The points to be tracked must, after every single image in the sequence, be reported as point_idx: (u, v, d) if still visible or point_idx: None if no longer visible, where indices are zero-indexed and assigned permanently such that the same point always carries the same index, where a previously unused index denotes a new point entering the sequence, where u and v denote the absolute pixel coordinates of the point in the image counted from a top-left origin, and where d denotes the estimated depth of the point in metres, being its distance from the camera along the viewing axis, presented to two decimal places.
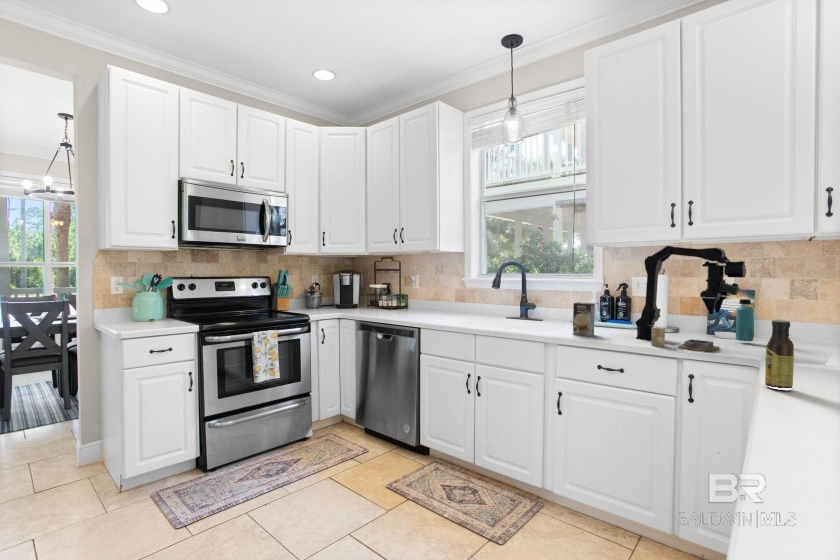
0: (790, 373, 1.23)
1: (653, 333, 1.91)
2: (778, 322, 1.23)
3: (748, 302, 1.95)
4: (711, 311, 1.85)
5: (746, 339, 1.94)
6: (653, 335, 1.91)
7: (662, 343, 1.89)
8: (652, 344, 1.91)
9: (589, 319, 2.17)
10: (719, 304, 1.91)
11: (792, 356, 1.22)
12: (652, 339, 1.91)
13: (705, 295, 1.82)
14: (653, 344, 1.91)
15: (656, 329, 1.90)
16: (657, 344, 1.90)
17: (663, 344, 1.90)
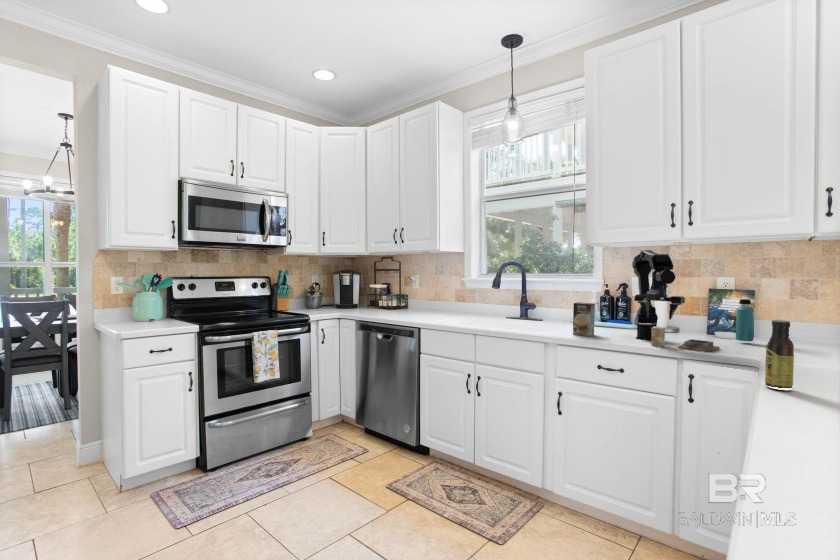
0: (790, 373, 1.23)
1: (653, 333, 1.91)
2: (778, 322, 1.23)
3: (748, 302, 1.95)
4: None
5: (746, 339, 1.94)
6: (653, 335, 1.91)
7: (662, 343, 1.89)
8: (652, 344, 1.91)
9: (589, 319, 2.17)
10: None
11: (792, 356, 1.22)
12: (652, 339, 1.91)
13: None
14: (653, 344, 1.91)
15: (656, 329, 1.90)
16: (657, 344, 1.90)
17: (663, 344, 1.90)
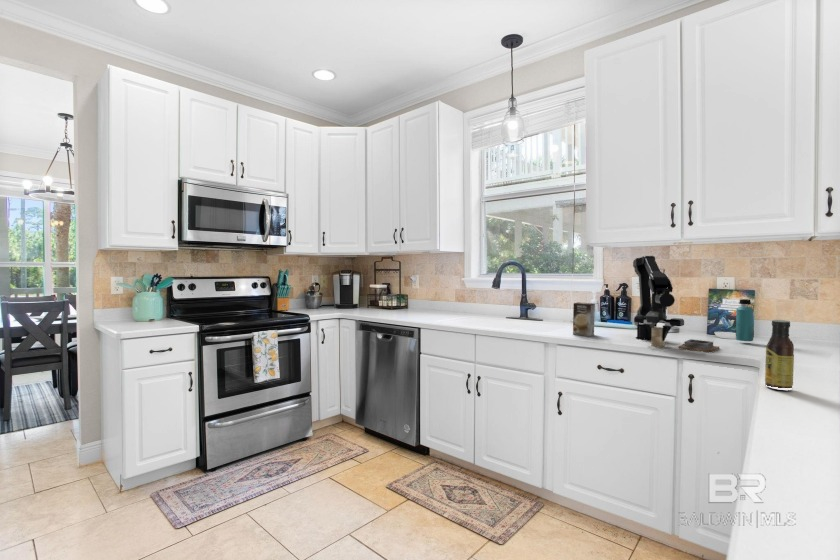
0: (790, 373, 1.23)
1: (653, 333, 1.91)
2: (778, 322, 1.23)
3: (748, 302, 1.95)
4: None
5: (746, 339, 1.94)
6: (653, 335, 1.91)
7: (662, 343, 1.89)
8: (652, 344, 1.91)
9: (589, 319, 2.17)
10: None
11: (792, 356, 1.22)
12: (652, 339, 1.91)
13: None
14: (653, 344, 1.91)
15: (656, 329, 1.90)
16: (657, 344, 1.90)
17: (663, 344, 1.90)
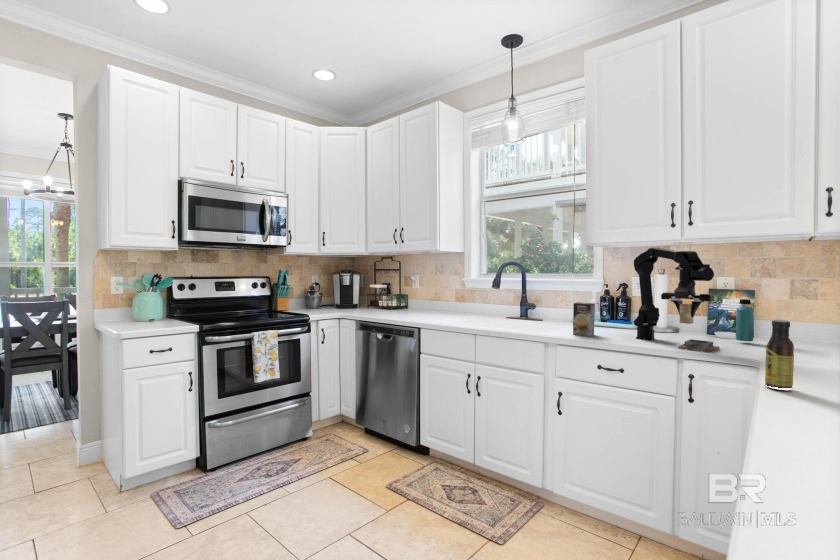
0: (790, 373, 1.23)
1: (681, 310, 1.86)
2: (778, 322, 1.23)
3: (748, 302, 1.95)
4: None
5: (746, 339, 1.94)
6: (681, 312, 1.86)
7: (691, 320, 1.84)
8: (680, 321, 1.86)
9: (589, 319, 2.17)
10: None
11: (792, 356, 1.22)
12: (680, 316, 1.86)
13: None
14: (681, 321, 1.86)
15: (684, 305, 1.85)
16: (686, 321, 1.84)
17: (692, 321, 1.85)
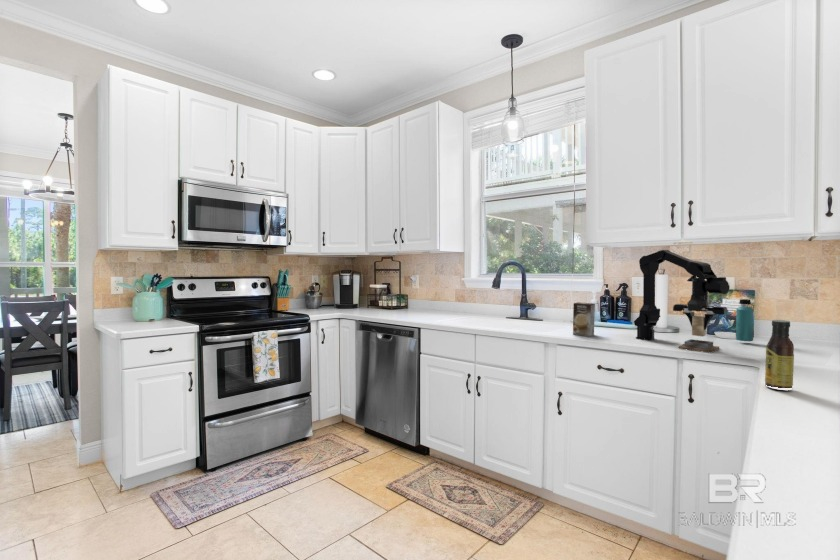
0: (790, 373, 1.23)
1: (694, 322, 1.84)
2: (778, 322, 1.23)
3: (748, 302, 1.95)
4: None
5: (746, 339, 1.94)
6: (694, 324, 1.84)
7: (703, 332, 1.83)
8: (693, 333, 1.85)
9: (589, 319, 2.17)
10: None
11: (792, 356, 1.22)
12: (692, 328, 1.85)
13: None
14: (694, 333, 1.84)
15: (697, 318, 1.83)
16: (699, 334, 1.83)
17: (704, 333, 1.84)
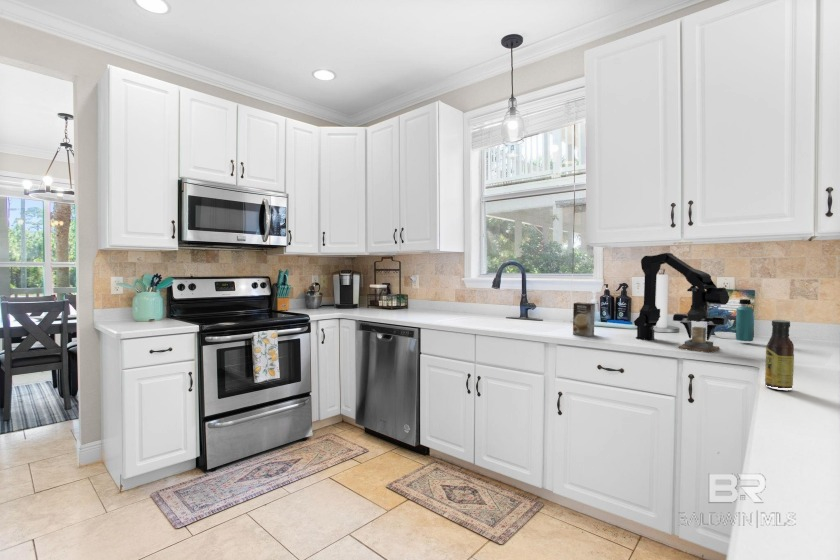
0: (790, 373, 1.23)
1: (694, 333, 1.84)
2: (778, 322, 1.23)
3: (748, 302, 1.95)
4: None
5: (746, 339, 1.94)
6: (694, 335, 1.84)
7: None
8: None
9: (589, 319, 2.17)
10: None
11: (792, 356, 1.22)
12: (692, 339, 1.85)
13: None
14: None
15: (697, 329, 1.83)
16: None
17: None
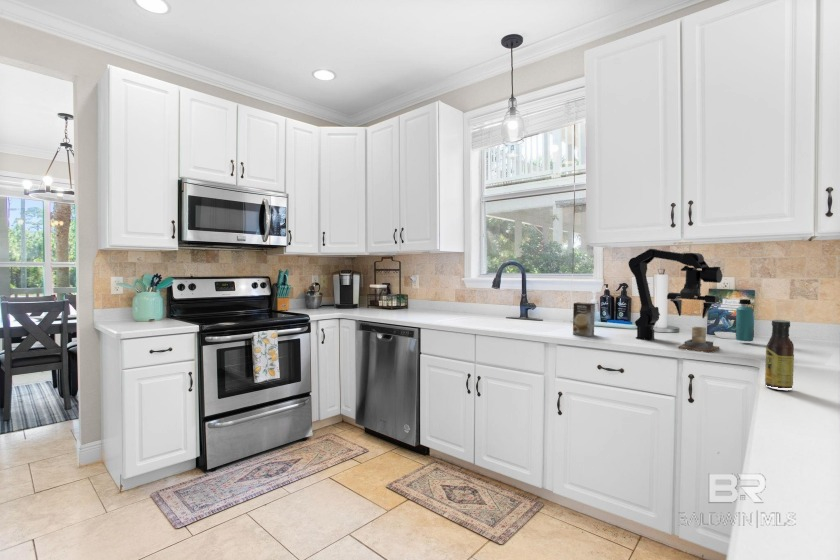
0: (790, 373, 1.23)
1: (694, 333, 1.84)
2: (778, 322, 1.23)
3: (748, 302, 1.95)
4: None
5: (746, 339, 1.94)
6: (694, 335, 1.84)
7: None
8: None
9: (589, 319, 2.17)
10: None
11: (792, 356, 1.22)
12: (692, 339, 1.85)
13: None
14: None
15: (697, 329, 1.83)
16: None
17: None
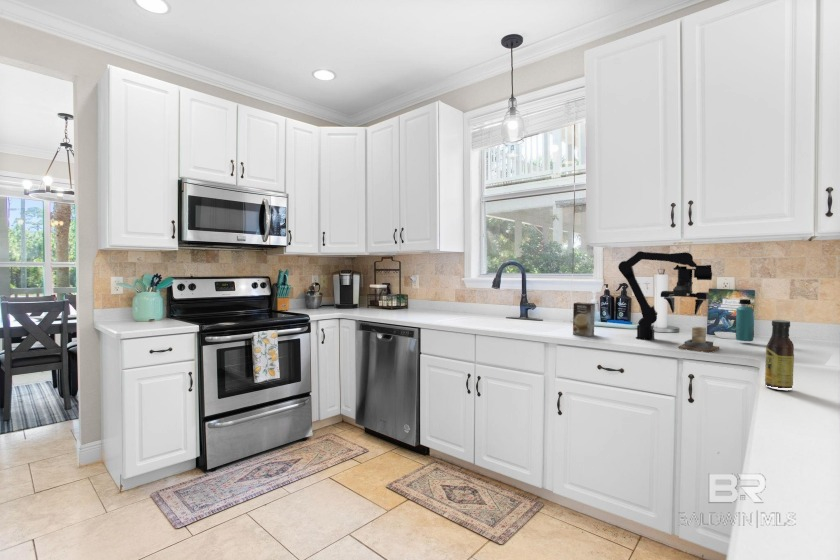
0: (790, 373, 1.23)
1: (694, 333, 1.84)
2: (778, 322, 1.23)
3: (748, 302, 1.95)
4: None
5: (746, 339, 1.94)
6: (694, 335, 1.84)
7: None
8: None
9: (589, 319, 2.17)
10: None
11: (792, 356, 1.22)
12: (692, 339, 1.85)
13: None
14: None
15: (697, 329, 1.83)
16: None
17: None
